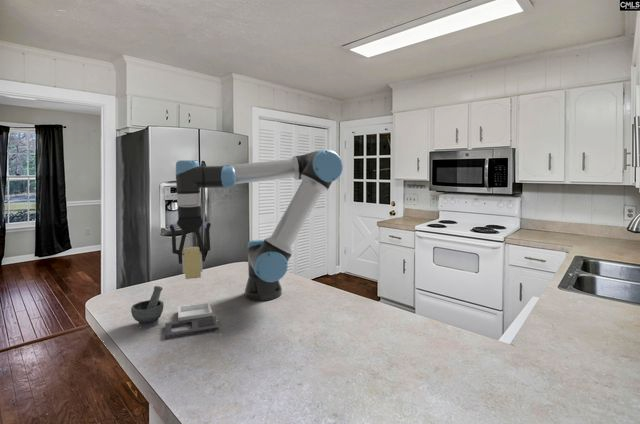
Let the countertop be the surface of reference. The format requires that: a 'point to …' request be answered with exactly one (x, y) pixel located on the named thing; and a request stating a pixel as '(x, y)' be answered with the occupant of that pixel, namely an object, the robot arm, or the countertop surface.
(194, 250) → the brass block
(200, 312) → the white tray
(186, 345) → the countertop surface
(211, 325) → the dark grey flat slab
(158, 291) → the mortar and pestle
